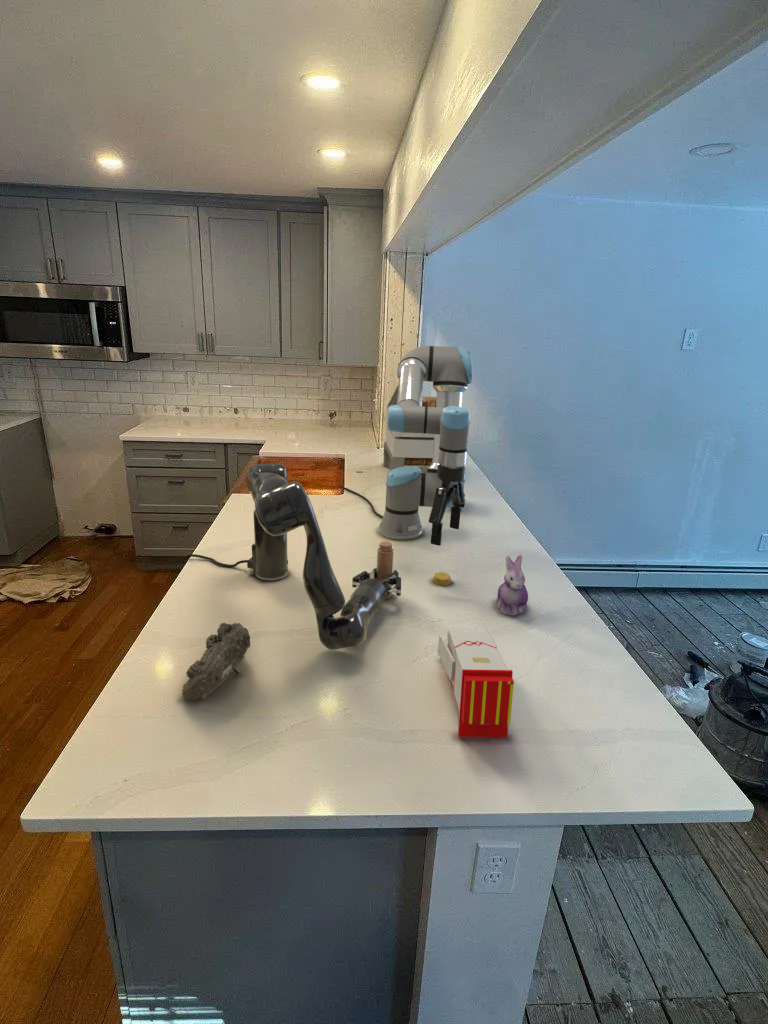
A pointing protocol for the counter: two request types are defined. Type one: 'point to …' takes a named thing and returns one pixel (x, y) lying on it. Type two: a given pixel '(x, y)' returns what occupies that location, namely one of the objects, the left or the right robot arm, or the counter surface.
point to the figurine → (512, 589)
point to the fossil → (217, 660)
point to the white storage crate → (408, 442)
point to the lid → (441, 578)
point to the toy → (478, 682)
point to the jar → (385, 561)
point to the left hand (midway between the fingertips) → (387, 571)
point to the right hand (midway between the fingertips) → (445, 536)
